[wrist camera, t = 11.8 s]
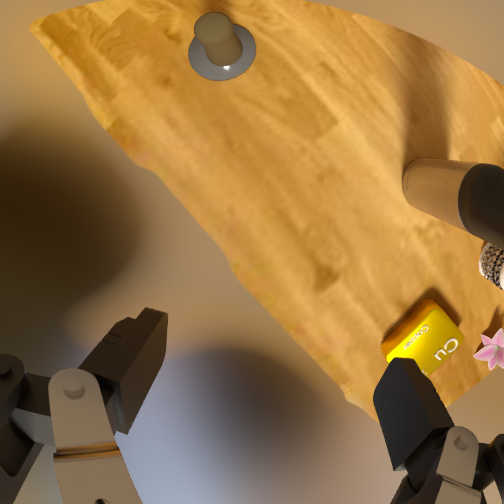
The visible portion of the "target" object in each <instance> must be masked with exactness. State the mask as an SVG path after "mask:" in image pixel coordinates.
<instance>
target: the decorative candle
mask: <svg viewBox="0 0 504 504" xmlns="http://www.w3.org/2000/svg"><path fill="white" fill-rule="evenodd" d="M478 263H479V271H480V273H481V275H483V276H484V277H486V278H487V280H490V279H491V283H494V284H495V285H496V286H498V287H500V289H501V290H502V289H504V251H503V250H502V249H500V248H498V247H497V246H495V245H493V244H491V243H489V242H488V243H487V244H486V245H485V246H484V247H483V250H482V252H481V254H480V257H479V262H478Z"/></svg>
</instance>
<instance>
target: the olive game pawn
mask: <svg viewBox="0 0 504 504" xmlns="http://www.w3.org/2000/svg"><path fill="white" fill-rule="evenodd" d="M194 34H195V36H196V38H197V39H198V40H199V41H200V42H201V43H203V45H204V48H205V52H206V56H207V58H208V60H209V61H210V62H211V63H212V64H214V65H216V66H229V65H232V64H234V63H235V62H237V61H238V60H239V59H240V57H241V56H242V53H243V45H242V43H241V41H240V40H239V39H238V37H237V36H236V35H235V34H234V32H233V23H232V21H231V19H230V18H229V17H228V16H226V15H225V14H223V13H220V12H211V13H207V14H205V15H203V16H201V17H200V18H199V19H198V20H197V21H196V23H195V26H194Z"/></svg>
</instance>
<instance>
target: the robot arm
mask: <svg viewBox="0 0 504 504" xmlns="http://www.w3.org/2000/svg"><path fill="white" fill-rule="evenodd" d="M402 187H403V192H404V195H405V198H406V199H407V201H408V202H409V203H410V204H411V205H412V206H413V207H414V208H416V209H418V210H420V211H423V212H425V213H427V214H429V215H432V216H434V217H436V218H438V219H441V220H443V221H445V222H447V223H449V224H451V225H454V226H456V227H458V228H460V229H462V230H464V231H466V232H468V233H470V234H472V235H474V236H476V237H479V238H481V239H483V240H485V241H487V242H489V243H491V244H493V245H495V246H497V247H498V248H500V249H502V250H503V251H504V169H502V168H501V167H499V166H496V165H492V164H484V163H476V162H466V161H455V160H444V159H432V158H419V159H416V160H414V161H413V162H411V163H410V164H409V165H408V167H407V168H406V170H405V172H404V175H403V181H402ZM167 326H168V314H167V313H165V312H161V311H158V310H155V309H151V308H147V307H146V308H144V310H143V311H142V312H141V313H140V315H139V316H138V317H137V318H136V319H133V318H130V317H127V318H125V319H124V320H121V321H119V322H117V323H116V324H115V325H114V326H113V327H112V328H111V329H110V331H109V332H108V334H106V335H105V336H104V338H103V339H102V341H100V342H99V344H98V345H97V346H96V347H95V348H94V349H93V351H92V352H91V353H90V354H89V355H88V357H87V358H86V359H85V360H84V361H83V363H82V364H81V365H80V366H79V367H78V369H65V370H62V371H60V372H58V373H56V374H55V375H54V376H53V377H52V378H49V377H44V376H39V375H34V374H29V373H26V371H25V368H24V365H23V363H22V362H21V360H20V359H18V358H17V357H15V356H13V355H8V354H1V355H0V504H13V503H14V501H15V498H16V496H17V495H18V492H19V490H20V488H21V486H22V485H23V483H24V481H25V479H26V477H27V475H28V473H29V471H30V469H31V467H32V466H33V464H34V462H35V460H36V458H37V456H38V455H39V453H40V451H41V449H42V447H43V446H44V444H47V445H51V446H55V447H56V453H54V454H53V462H54V467H55V472H56V476H57V480H58V485H59V489H60V492H61V496H62V499H63V503H64V504H143V503H142V501H141V499H140V497H139V495H138V493H137V491H136V488H135V486H134V484H133V482H132V479H131V477H130V474H129V472H128V470H127V467H126V464H125V462H124V459H123V457H122V454H121V452H120V449H119V447H118V446H117V444H116V441H115V438H114V435H115V433H116V431H119V432H121V433H124V434H128V432H129V430H130V428H131V426H132V424H133V422H134V420H135V418H136V416H137V414H138V412H139V410H140V408H141V406H142V404H143V401H144V400H145V398H146V396H147V394H148V392H149V390H150V388H151V386H152V384H153V382H154V380H155V378H156V376H157V374H158V372H159V370H160V368H161V366H162V364H163V361H164V357H165V353H166V340H167ZM440 399H441V398H440V396H439V395H438V393H436V389H435V387H434V386H433V384H432V382H431V381H430V380H429V379H428V378H427V377H426V376H425V375H424V374H423V373H422V372H421V370H420V368H419V366H418V365H417V363H416V361H415V360H414V359H412V358H402V357H394V358H393V359H392V360H391V362H390V363H389V365H388V367H387V369H386V371H385V372H384V374H383V376H382V378H381V379H380V381H379V383H378V385H377V386H376V388H375V391H374V395H373V403H374V406H375V409H376V412H377V415H378V419H379V422H380V425H381V428H382V432H383V435H384V438H385V442H386V445H387V449H388V452H389V455H390V459H391V463H392V466H393V470H394V471H401V470H407V472H408V474H407V475H406V476H405V477H404V478H403V479H402V481H401V483H400V485H399V487H398V489H397V491H396V493H395V495H394V497H393V499H392V501H391V503H390V504H487V502H486V499H485V496H484V493H483V490H484V489H485V488H486V487H487V486H489V485H490V484H491V483H492V482H493V481H494V480H495V482H496V484H497V487H498V490H499V492H500V496H501V499H502V504H504V434H499V435H498V436H496V438H495V439H494V440H493V441H492V442H491V443H490V444H485V443H478V440H477V438H476V436H475V435H474V434H473V433H472V432H471V431H470V430H469V429H467V428H464V427H461V426H455V425H454V423H453V421H452V419H451V417H450V415H449V413H448V412H447V409H446V408H445V406H444V404H443V402H442V400H440Z"/></svg>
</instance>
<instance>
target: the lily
mask: <svg viewBox="0 0 504 504" xmlns="http://www.w3.org/2000/svg"><path fill="white" fill-rule="evenodd" d="M481 339H482V342H483V344H484V346H485V347H484V348H482V349H481V350H480V351H478V352H477V353H476V354H474V356H473V357H474V358H476V359H479V360H483V361H488V366H489V370H490V371H491V370H492V369H493V368H494V367H495V366H496V365H497V364H498V365H499V366H500V367H502V368H504V333H503V329H502V328H501V329H499V330H498V332H497V333H496V334H495V336H494V337H493V338H492V339H491V338H489V337H487V336H485V335H482V334H481Z"/></svg>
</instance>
